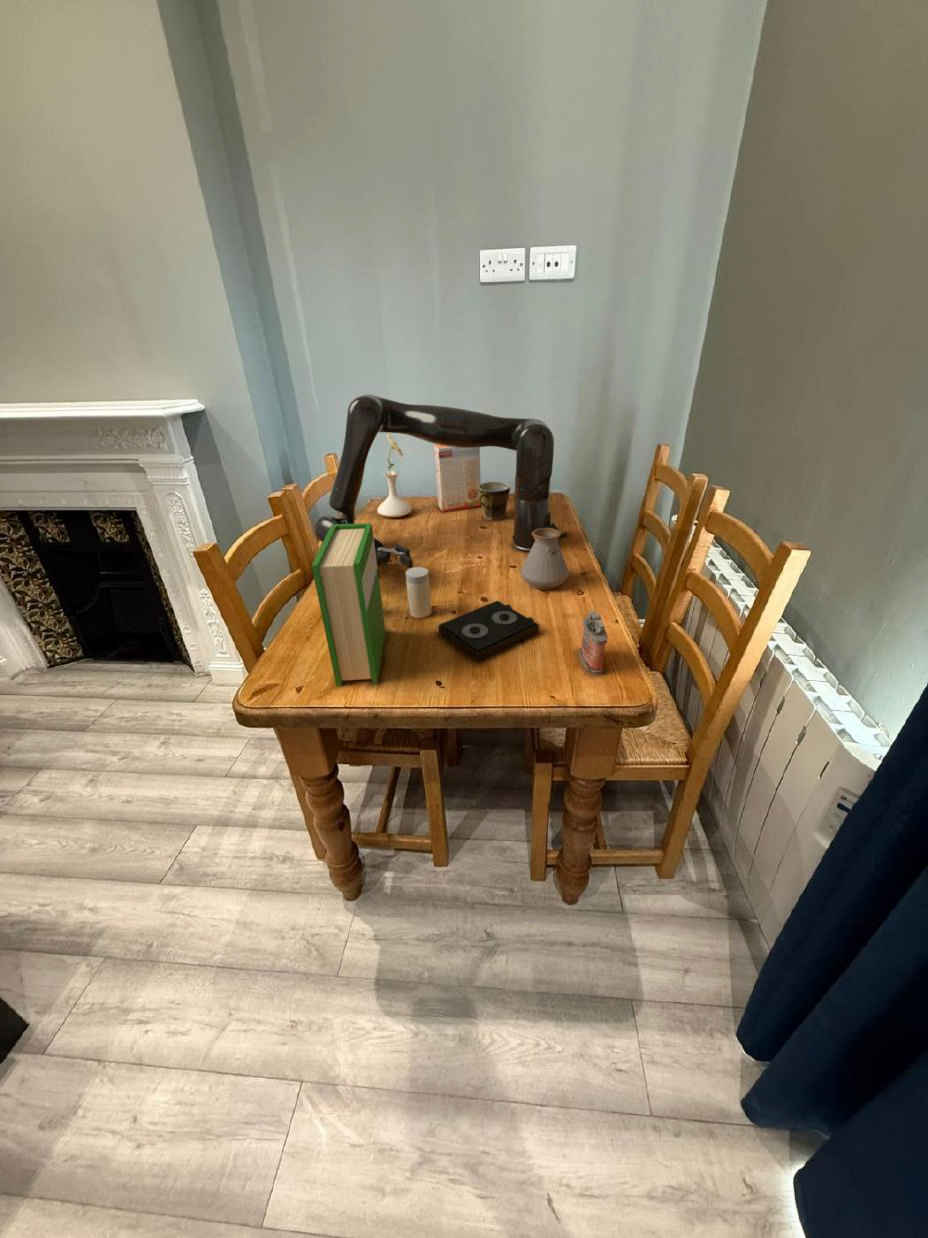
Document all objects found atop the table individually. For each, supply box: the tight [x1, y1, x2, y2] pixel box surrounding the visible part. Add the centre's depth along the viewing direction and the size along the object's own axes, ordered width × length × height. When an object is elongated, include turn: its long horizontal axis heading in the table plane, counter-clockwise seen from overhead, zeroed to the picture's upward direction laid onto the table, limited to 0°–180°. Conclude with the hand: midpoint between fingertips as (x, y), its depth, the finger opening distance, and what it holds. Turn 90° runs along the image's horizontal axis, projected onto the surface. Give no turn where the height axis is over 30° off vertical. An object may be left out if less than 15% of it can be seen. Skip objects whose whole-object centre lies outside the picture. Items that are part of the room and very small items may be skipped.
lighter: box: [579, 610, 608, 676], centre depth 92 cm, size 8×3×10 cm, turn 5°
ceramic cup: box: [478, 481, 511, 521], centre depth 159 cm, size 13×10×10 cm
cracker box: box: [433, 444, 482, 512], centre depth 167 cm, size 14×6×21 cm, turn 108°
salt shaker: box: [405, 566, 433, 619], centre depth 110 cm, size 5×5×10 cm
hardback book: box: [311, 522, 387, 687], centre depth 92 cm, size 18×7×24 cm, turn 3°
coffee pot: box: [520, 528, 570, 590], centre depth 115 cm, size 21×12×15 cm, turn 177°
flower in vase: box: [376, 433, 413, 518], centre depth 162 cm, size 13×11×25 cm
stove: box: [437, 600, 539, 663], centre depth 104 cm, size 17×13×3 cm
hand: (395, 569), depth 115 cm, fingers open, 8 cm apart
